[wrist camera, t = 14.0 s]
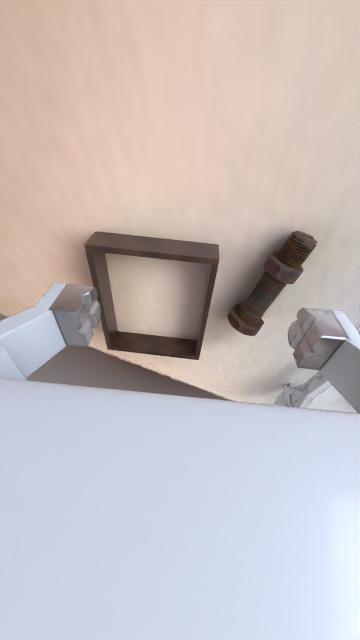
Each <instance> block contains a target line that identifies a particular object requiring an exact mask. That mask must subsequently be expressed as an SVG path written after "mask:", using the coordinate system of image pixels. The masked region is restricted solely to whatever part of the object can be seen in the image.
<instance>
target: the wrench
mask: <svg viewBox="0 0 360 640" xmlns="http://www.w3.org/2000/svg"><path fill="white" fill-rule="evenodd" d="M331 385H332V384H331V383H330V382H329V381H328V380H327V379H326V378H325V377H324V376H323V375H322V374H321V373H320V372H318V373H316V374H315V375H314V376H313V377H311V378H310V379H309V380H308V381H306V382H305V383H304V384H302V385H299V386H296V387H293V384H289V387H288V386H286V385H284V391H283V392H282V393H281V394H280V395H279V396H278V398H277V399H276V401H275V403H274V405H276V406H287V407H297V408H307V407H308V406H309V404H310V403H311V402H312V400H313V399H314V398H315V397H316V396H318V395H319V394H320V393H322V392H323V391H325V390H326V389H327V388H329V387H330V386H331Z"/></svg>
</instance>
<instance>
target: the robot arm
mask: <svg viewBox="0 0 360 640" xmlns="http://www.w3.org/2000/svg"><path fill="white" fill-rule="evenodd" d="M97 296H98V294H97V290H96V288H95V287H93V286H85V285H77V284H67V283H59V282H56V283H53V284H52V285H51V287H50V288H49V289H48V290H47V292H46V293H45V294H44V295H43V297H42V298H41V299H40V300H39V301H38V303H37V304H36V305H35V306H34V308H28V309H26V310H23V311H21V312H19V313H17V314H15V315H13V316H10V317H8V318H6V319H4V320H2V321H0V640H360V334H359V333H358V331H357V330H356V328H355V327H354V325H353V324H352V322H351V321H350V319H349V318H348V316H347V315H346V313H344V312H343V311H338V310H321V309H311V308H301V309H300V310H299V312H298V313H297V318H298V320H296V321H295V322H293V323H292V324H291V326H290V328H289V331H288V341H289V344H290V346H291V347H292V348H294V349H295V351H294V353H293V355H294V358H295V361H296V364H297V366H298V368H306V369H314V370H320V371H319V372H320V373H321V374H322V375H323V376H324V377H325V378H326V379H327V380H328V381H329V382H330V383H331V384H332V385H333V386H334V387H335V389H336V390H337V391H338V392H339V393H340V394H341V395H342V396H343V397H344V398H345V399H346V400H347V401H348V402H349V403H350V404H351V405H352V407H353V408H354V409H355V410H356V411H357V413H348V412H337V411H327V410H317V409H307V408H297V407H287V406H276V405H266V404H256V403H245V402H235V401H225V400H215V399H204V398H194V397H184V396H175V395H165V394H155V393H145V392H135V391H124V390H114V389H105V388H94V387H84V386H74V385H64V384H54V383H44V382H34V381H28V380H27V379H26V377H27V376H29V375H30V374H31V373H32V372H34V371H35V370H36V369H38V368H39V367H40V366H41V365H43V364H44V363H45V362H47V361H48V360H49V359H50V358H52V357H53V356H54V355H56V354H57V353H58V352H59V351H61V350H62V349H63V348H65V347H66V345H73V346H74V345H75V346H87V347H88V345H89V343H90V341H91V339H92V337H93V334H94V333H93V330H92V329H93V328H95V327H97V326H98V323H99V321H100V316H101V308H100V304H99V303H98V302H97V301H96V298H97Z"/></svg>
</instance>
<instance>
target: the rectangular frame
mask: <svg viewBox="0 0 360 640" xmlns="http://www.w3.org/2000/svg"><path fill="white" fill-rule="evenodd" d="M84 246H85V250H86V255H87V259H88V264H89V268H90V272H91V277H92V281H93V286H94V287H95V288H96V290H97V294H98V296H97V298H96V299H97V302H98V303H99V304H100V308H101V316H100V317H101V322H102V326H103V331H104V335H105V340H106V344H107V348H108V349H109V350H118V351H126V352H135V353H143V354H152V355H160V356H169V357H177V358H186V359H194V360H199V356H200V351H201V346H202V342H203V337H204V332H205V327H206V322H207V317H208V312H209V307H210V302H211V297H212V293H213V288H214V283H215V278H216V273H217V268H218V263H219V247H218V245H216V244H206V243H197V242H188V241H179V240H169V239H160V238H151V237H141V236H132V235H123V234H114V233H104V232H95V233H94V234H93V235H92V236H91V238H90V239H89V240H88V241H87V242H86V243H85V244H84ZM105 253H113V254H122V255H131V256H140V257H149V258H158V259H168V260H177V261H186V262H195V263H204V264H209V267H208V273H207V279H206V284H205V290H204V296H203V302H202V307H201V313H200V319H199V325H198V330H197V336H196V340H188V339H179V338H170V337H162V336H153V335H144V334H136V333H127V332H119V331H118V330H117V324H116V318H115V312H114V306H113V300H112V294H111V288H110V282H109V275H108V269H107V263H106V257H105Z"/></svg>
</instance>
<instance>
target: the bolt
mask: <svg viewBox="0 0 360 640" xmlns="http://www.w3.org/2000/svg"><path fill="white" fill-rule="evenodd" d="M292 233H293V234H292V235H291V237H289V239H287V242H286V244H284V246H283V247H282V249H281V251H279V253H276V252H275V253H273V254H272V255H271V256H270V257H269V258H268V259H267V261H266V263H265V264H264V268H265V270H266V272H265V273H264V275H263V277H262V278H261V279H260V281H259V282H258V284H257V285H256V287H255V288H254V289H253V291H252V292H251V294H250V296H249V297H248V298H247V300H246V301H245V302H244V303H243V304H242V305H239V304H237V305H236V306H235V307H234V308H233V309H232V310H231V311H230V313H229V314H228V316H227V317H228V320H229V323H230V324H231V326H232V327H233V328H235V329H236V330H237V331H239V332H240V333H242V334H244V335H249V336H255V335H256V334H257V332H258V331H259V330H260V328H261V327H262V325H263V324H264V321H263V320H262V319H261V318H262V316H263V314H264V313H265V311H266V310H267V309H268V307H269V306H270V305H271V304H272V303H273V301H274V300H275V299H276V297H277V296H278V295H279V293H280V292H281V291H282V290H283V288H284V287H285V286H286V284H293V283H294V282H295V281H296V280H297V278H298V277H299V276H300V275H301V273H302V272H303V268H302V267H301V265H302V264H303V262H304V261H305V260H306V259H307V258H306V257H308V255H310V252H312V250H314V247H316V244H317V241H315V240H314V238H313V237H312V236H310V235H308V234H305V233H303V232H300V231H296V232H292Z"/></svg>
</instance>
